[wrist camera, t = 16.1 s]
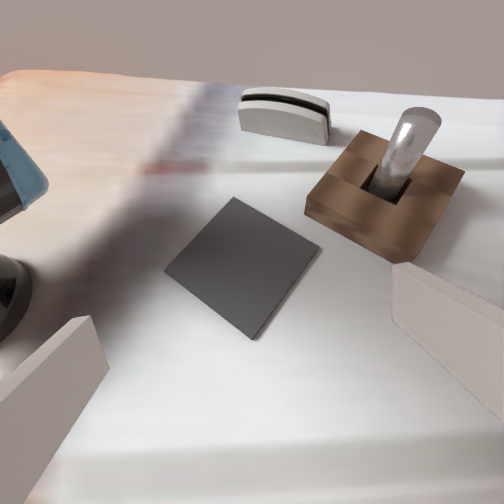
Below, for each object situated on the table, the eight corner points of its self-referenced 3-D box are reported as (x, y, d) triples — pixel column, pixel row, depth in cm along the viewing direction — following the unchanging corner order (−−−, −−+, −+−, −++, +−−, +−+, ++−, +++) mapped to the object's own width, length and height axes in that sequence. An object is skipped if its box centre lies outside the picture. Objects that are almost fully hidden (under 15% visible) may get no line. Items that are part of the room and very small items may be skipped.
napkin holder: (332, 127, 51) (339, 89, 41) (325, 150, 51) (331, 117, 41) (249, 113, 55) (236, 74, 45) (242, 134, 54) (228, 101, 45)
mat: (165, 272, 40) (163, 270, 39) (234, 199, 45) (233, 196, 44) (252, 340, 35) (251, 339, 34) (318, 249, 40) (319, 246, 39)
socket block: (304, 214, 43) (306, 196, 39) (353, 151, 48) (360, 129, 44) (403, 268, 38) (418, 254, 34) (447, 191, 43) (465, 171, 39)
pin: (357, 206, 43) (395, 123, 29) (369, 189, 44) (410, 102, 31) (381, 218, 41) (432, 137, 28) (393, 200, 43) (447, 115, 29)
